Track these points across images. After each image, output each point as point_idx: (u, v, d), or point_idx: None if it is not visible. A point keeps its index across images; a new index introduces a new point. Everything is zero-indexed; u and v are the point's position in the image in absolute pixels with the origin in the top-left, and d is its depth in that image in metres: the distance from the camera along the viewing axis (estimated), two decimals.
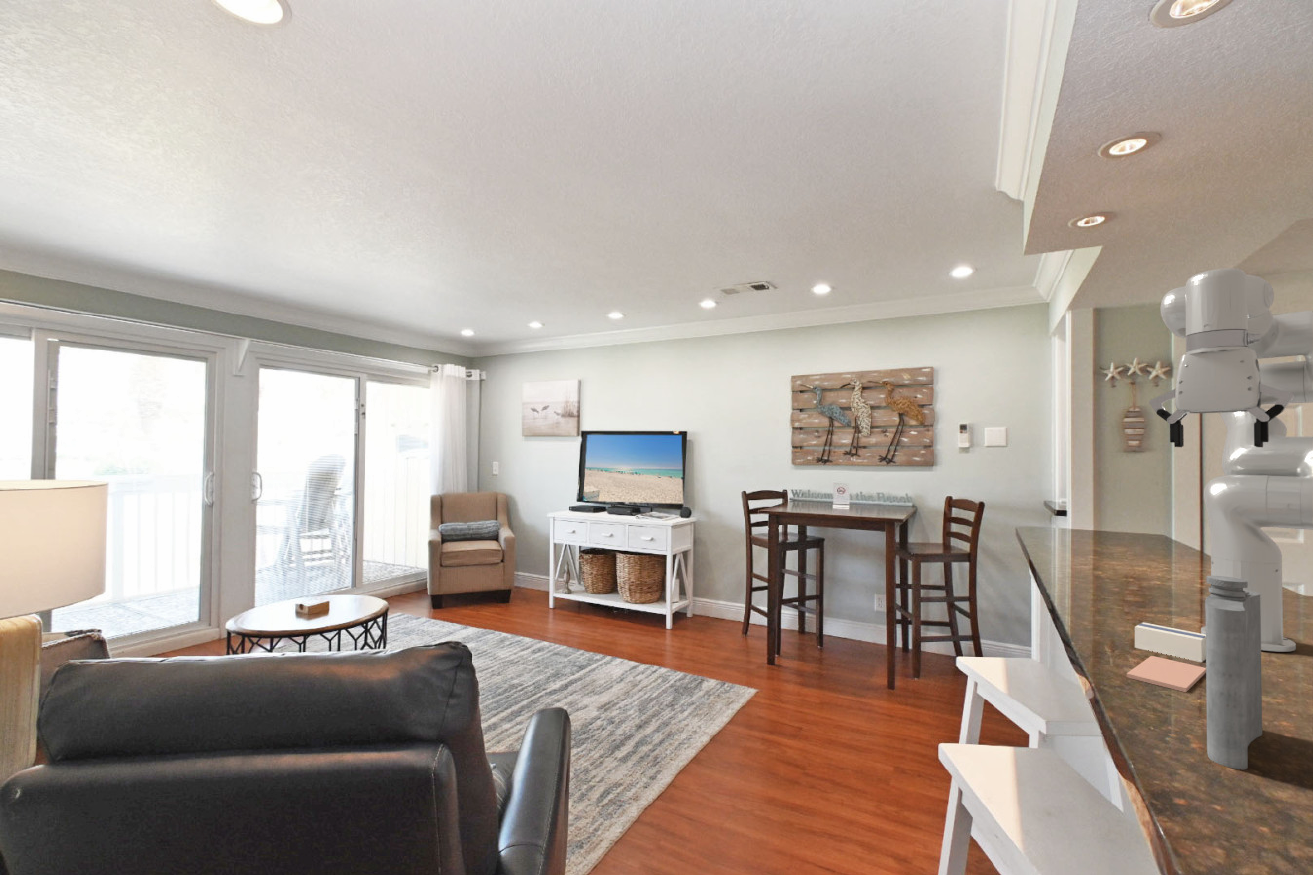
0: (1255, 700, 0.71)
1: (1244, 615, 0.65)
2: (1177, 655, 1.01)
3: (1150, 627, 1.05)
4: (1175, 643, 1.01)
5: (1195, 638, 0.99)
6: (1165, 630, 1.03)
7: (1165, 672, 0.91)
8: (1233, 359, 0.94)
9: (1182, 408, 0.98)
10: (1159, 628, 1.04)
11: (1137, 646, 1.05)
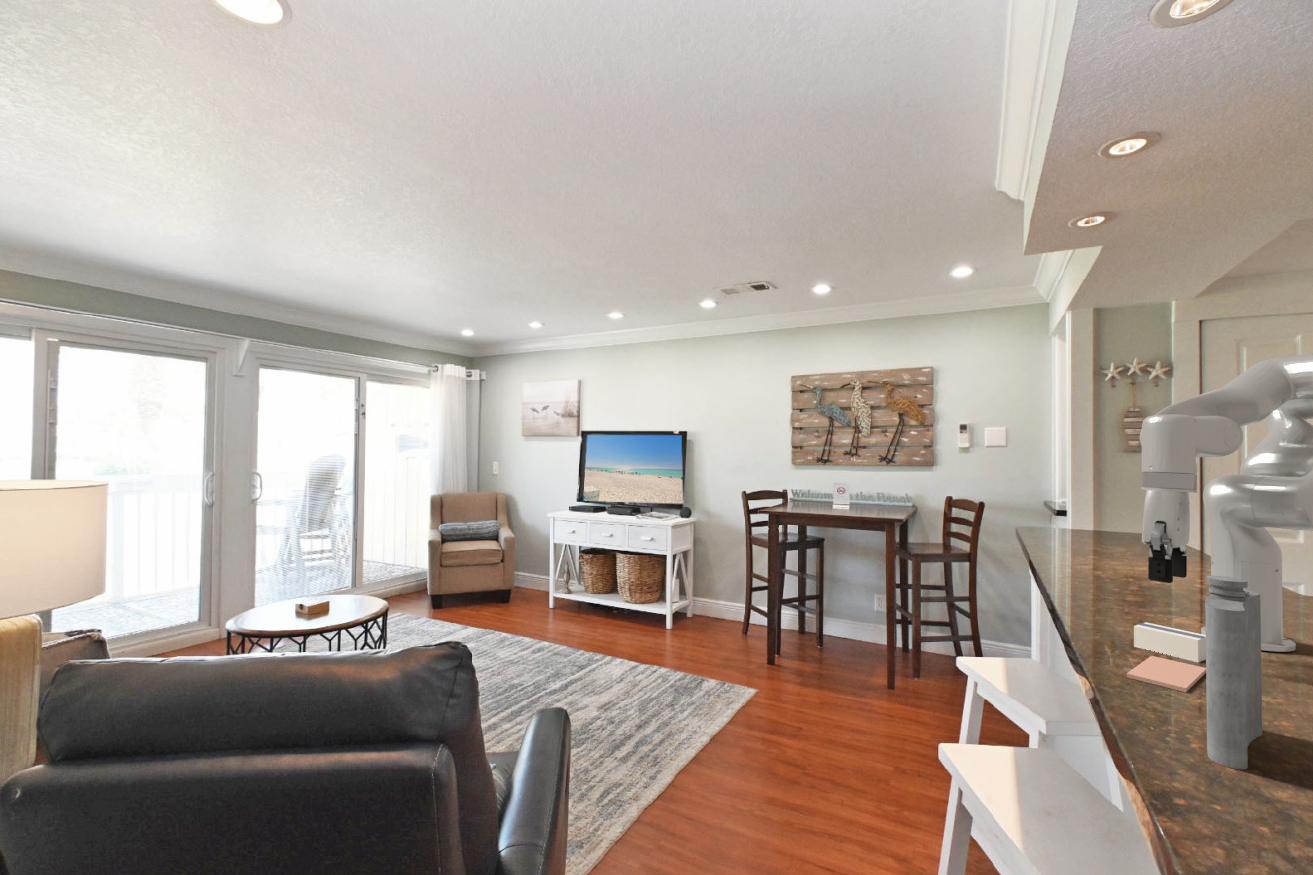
0: (1255, 700, 0.71)
1: (1244, 615, 0.65)
2: (1174, 655, 1.01)
3: (1150, 627, 1.05)
4: (1173, 642, 1.01)
5: (1192, 638, 0.99)
6: (1164, 630, 1.03)
7: (1165, 672, 0.91)
8: None
9: (1176, 544, 1.00)
10: (1159, 628, 1.04)
11: (1136, 645, 1.06)
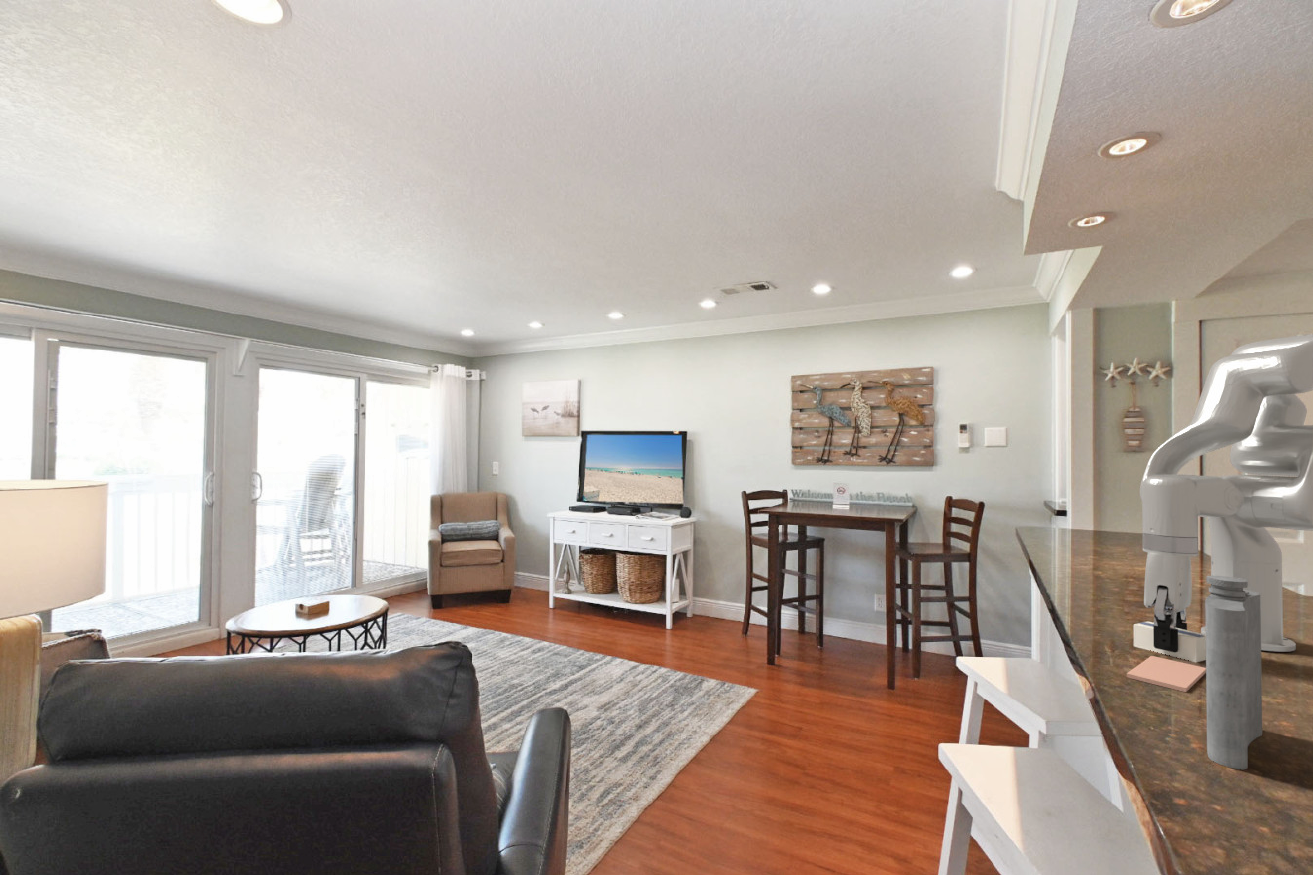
0: (1255, 700, 0.71)
1: (1244, 615, 0.65)
2: (1173, 653, 1.01)
3: (1150, 625, 1.05)
4: None
5: (1191, 637, 0.99)
6: None
7: (1165, 672, 0.91)
8: (1190, 562, 1.03)
9: (1179, 610, 0.99)
10: None
11: (1136, 644, 1.06)
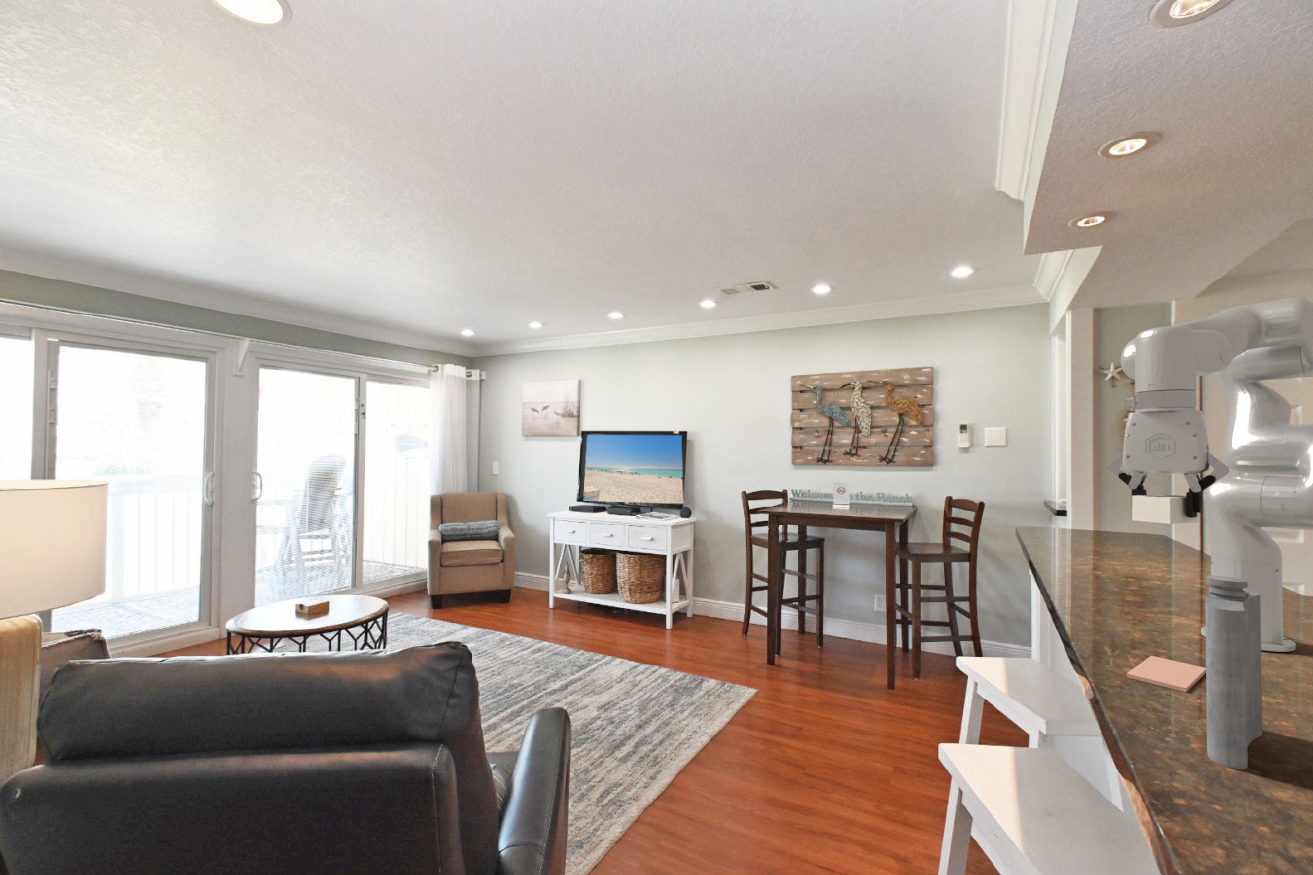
0: (1255, 700, 0.71)
1: (1244, 615, 0.65)
2: (1189, 519, 0.92)
3: (1163, 496, 0.92)
4: None
5: None
6: (1170, 496, 0.93)
7: (1165, 672, 0.91)
8: None
9: None
10: None
11: (1171, 520, 0.89)
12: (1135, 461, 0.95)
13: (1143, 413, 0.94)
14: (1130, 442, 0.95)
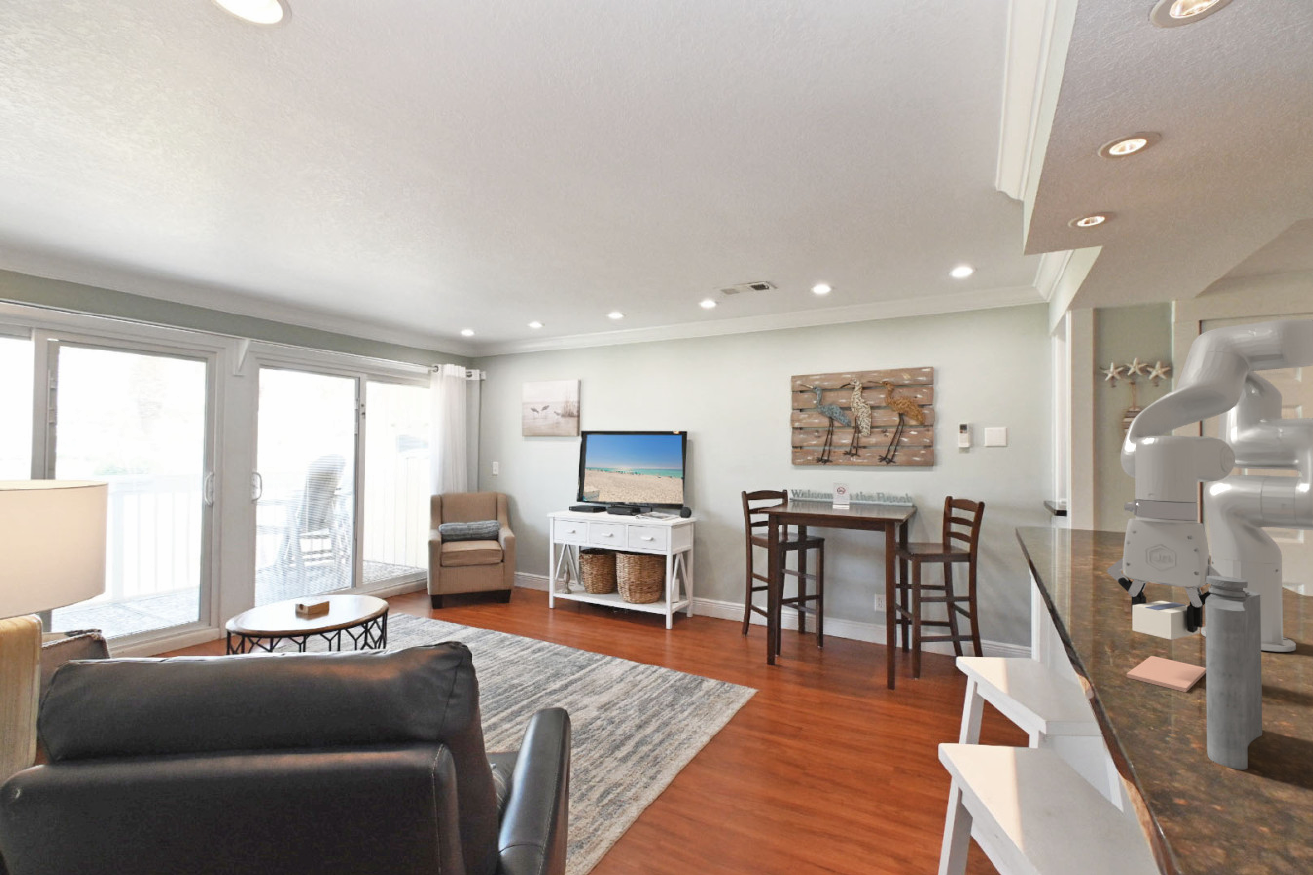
0: (1255, 700, 0.71)
1: (1244, 615, 0.65)
2: (1190, 632, 0.91)
3: (1163, 609, 0.90)
4: None
5: None
6: (1170, 607, 0.91)
7: (1165, 672, 0.91)
8: None
9: None
10: (1163, 607, 0.91)
11: (1172, 635, 0.88)
12: (1135, 569, 0.93)
13: (1144, 521, 0.93)
14: (1130, 549, 0.94)
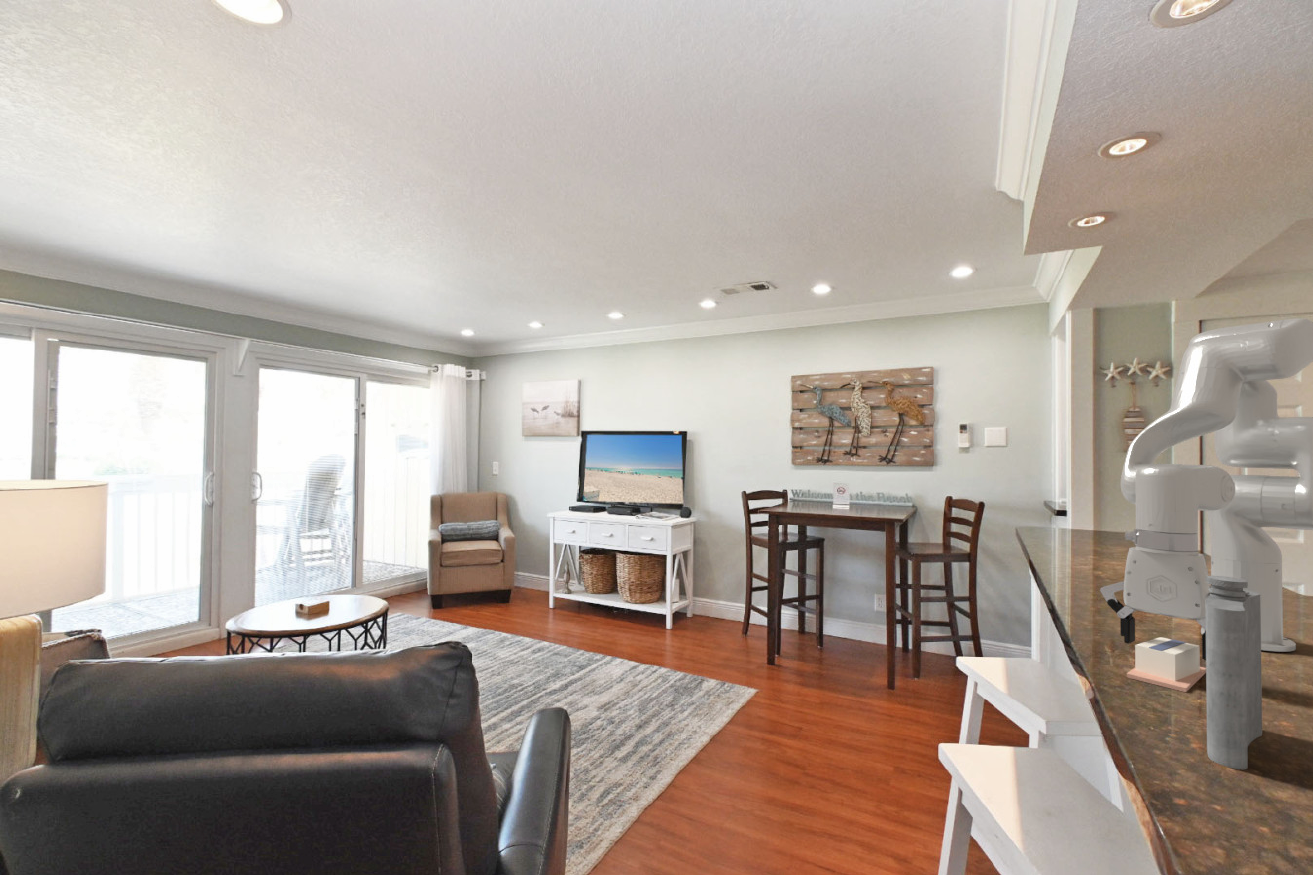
0: (1255, 700, 0.71)
1: (1244, 615, 0.65)
2: (1191, 671, 0.91)
3: (1166, 649, 0.90)
4: (1190, 658, 0.91)
5: (1193, 645, 0.92)
6: (1172, 647, 0.91)
7: None
8: None
9: None
10: (1165, 646, 0.91)
11: (1176, 677, 0.88)
12: (1136, 599, 0.93)
13: (1144, 552, 0.93)
14: (1131, 579, 0.94)
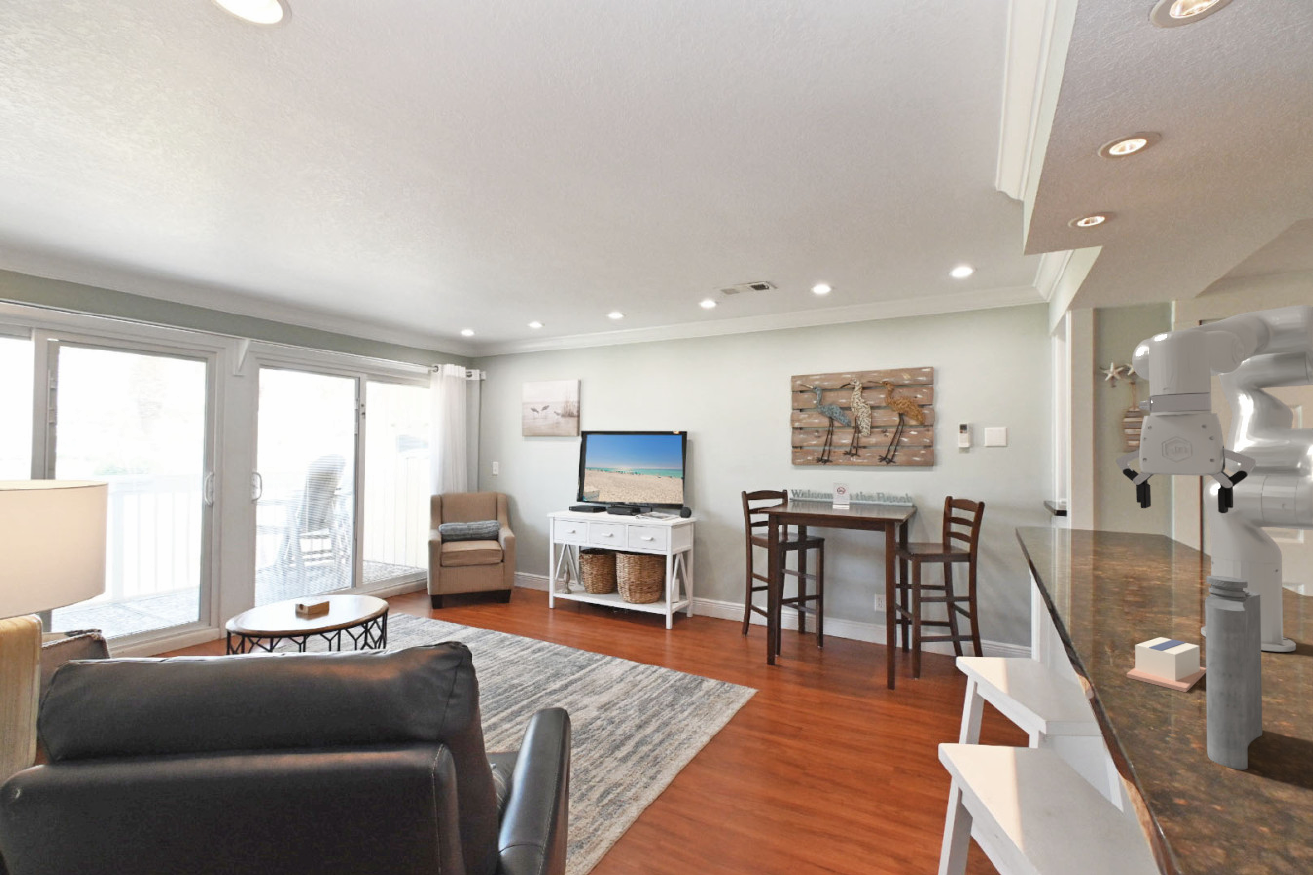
0: (1255, 700, 0.71)
1: (1244, 615, 0.65)
2: (1191, 671, 0.91)
3: (1166, 649, 0.90)
4: (1190, 658, 0.91)
5: (1193, 645, 0.92)
6: (1172, 647, 0.91)
7: None
8: None
9: None
10: (1165, 646, 0.91)
11: (1176, 677, 0.88)
12: (1152, 464, 0.96)
13: (1159, 416, 0.95)
14: (1146, 445, 0.97)
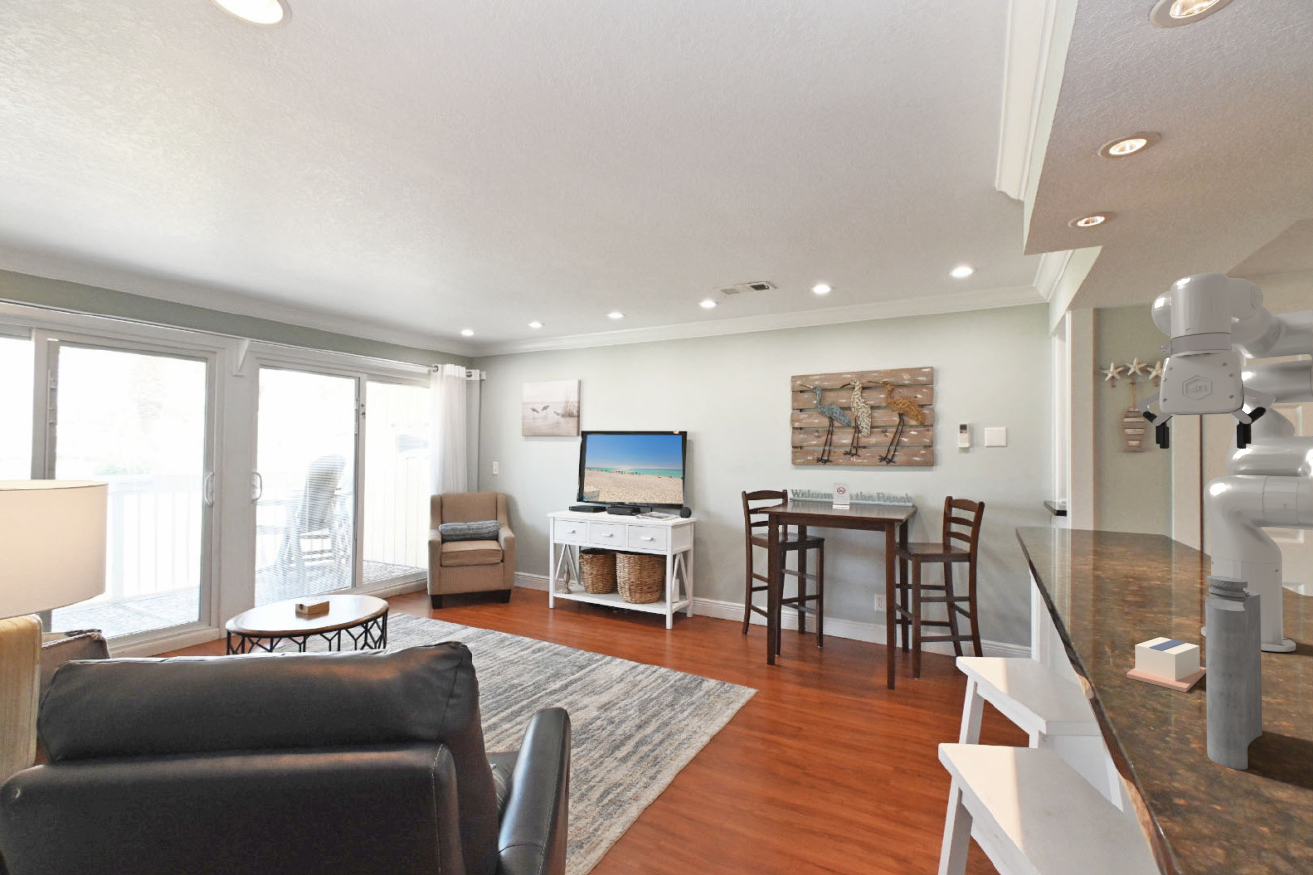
0: (1255, 700, 0.71)
1: (1244, 615, 0.65)
2: (1191, 671, 0.91)
3: (1166, 649, 0.90)
4: (1190, 658, 0.91)
5: (1193, 645, 0.92)
6: (1172, 647, 0.91)
7: None
8: None
9: None
10: (1165, 646, 0.91)
11: (1176, 677, 0.88)
12: (1172, 403, 0.99)
13: (1180, 357, 0.98)
14: (1167, 386, 1.00)
